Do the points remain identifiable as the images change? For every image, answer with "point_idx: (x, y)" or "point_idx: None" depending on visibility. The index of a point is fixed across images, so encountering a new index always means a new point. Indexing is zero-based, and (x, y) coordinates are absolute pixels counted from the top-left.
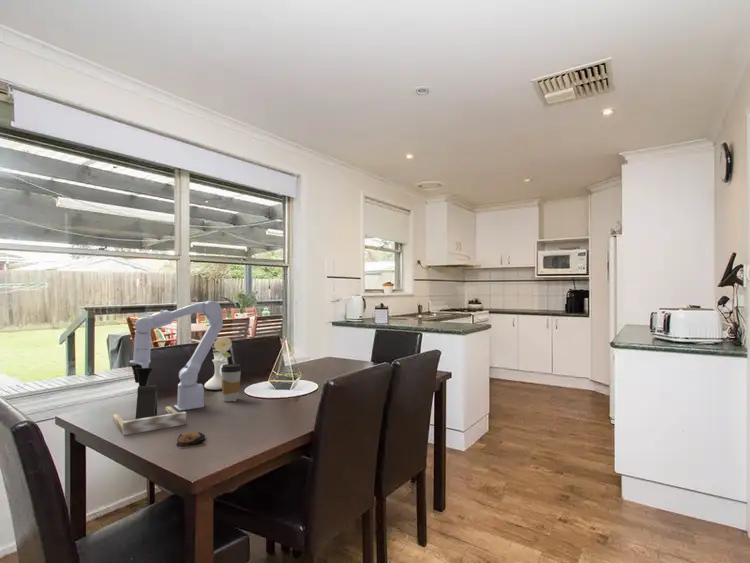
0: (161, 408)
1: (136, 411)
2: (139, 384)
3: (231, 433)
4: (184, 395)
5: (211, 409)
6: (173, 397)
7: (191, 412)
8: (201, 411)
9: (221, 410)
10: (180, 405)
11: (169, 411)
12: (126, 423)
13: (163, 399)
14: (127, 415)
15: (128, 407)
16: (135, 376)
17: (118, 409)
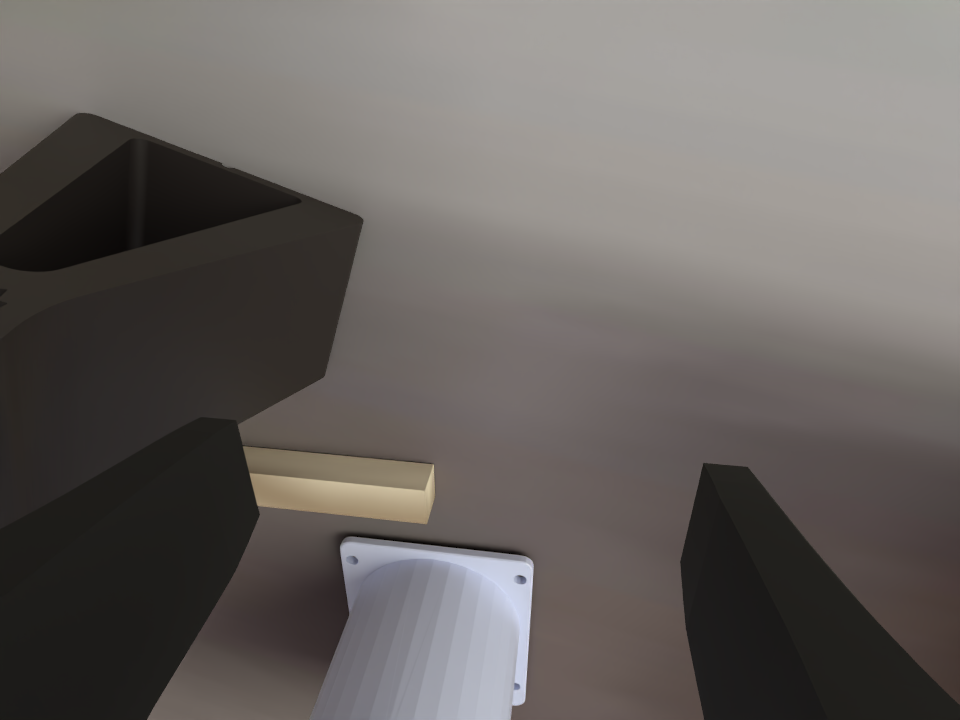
0: (550, 463)
1: (28, 156)
2: (158, 441)
3: None
4: (321, 691)
5: (282, 676)
6: (927, 662)
7: (262, 574)
8: (258, 623)
9: (225, 698)
10: (381, 583)
11: (273, 466)
12: None
13: (935, 584)
14: (474, 101)
15: (910, 199)
16: (753, 601)
17: (920, 49)
